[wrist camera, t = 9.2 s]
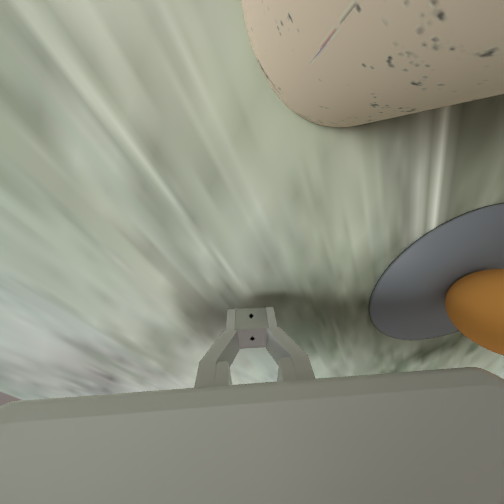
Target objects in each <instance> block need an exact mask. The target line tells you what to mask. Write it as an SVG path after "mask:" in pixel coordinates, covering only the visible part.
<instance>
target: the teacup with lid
mask: <svg viewBox="0 0 504 504" xmlns="http://www.w3.org/2000/svg"><path fill="white" fill-rule="evenodd" d="M242 7H243V12H244V17H245V23H246V27H247V31H248V35H249V38H250V42H251V45H252V48H253V51H254V54H255V56H256V59H257V61H258V63H259V66H260V68H261V70H262V72H263V74H264V76H265V78H266V79H267V81H268V83H269V84H270V86H271V87H272V89H273V90H274V92H275V93H276V94H277V95H278V97H279V98H280V99H281V100H282V101H283V102H284V103H285V104H286V105H287V106H288V107H289V108H290V109H291V110H293V111H294V112H295V113H296V114H298V115H299V116H301V117H303V118H304V119H306V120H308V121H311V122H313V123H316V124H319V125H323V126H329V127H352V126H357V125H362V124H366V123H371V122H376V121H380V120H385V119H390V118H394V117H399V116H404V115H408V114H413V113H417V112H422V111H427V110H431V109H436V108H441V107H445V106H450V105H455V104H459V103H464V102H468V101H473V100H478V99H482V98H487V97H492V96H496V95H501V94H504V0H242Z"/></svg>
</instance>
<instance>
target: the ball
mask: <svg viewBox="0 0 504 504" xmlns="http://www.w3.org/2000/svg"><path fill="white" fill-rule="evenodd" d="M445 307H446V311H447V314H448V316H449V318H450V320H451V321H452V323H453V324H454V325H455V327H456V328H457V329H458V330H459V331H460V332H461V333H463V334H464V335H465V336H466V337H468V338H469V339H470V340H472V341H473V342H475V343H477V344H478V345H480V346H482V347H484V348H486V349H488V350H491V351H493V352H496V353H498V354H501V355H504V269H490V270H483V271H478V272H474V273H471V274H469V275H466V276H464V277H462V278H460V279H459V280H457V281H456V282H455V283H454V284H453V285H452V286H451V287H450V288H449V290H448V292H447V294H446V298H445Z"/></svg>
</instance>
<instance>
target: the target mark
mask: <svg viewBox="0 0 504 504" xmlns="http://www.w3.org/2000/svg"><path fill="white" fill-rule="evenodd" d="M490 269H504V203H500V204H495V205H491V206H486V207H482V208H479V209H476V210H473V211H470V212H467V213H465V214H463V215H460V216H458V217H456V218H453V219H451V220H449V221H448V222H446V223H444V224H442V225H440V226H438V227H436V228H435V229H433V230H432V231H430V232H428V233H427V234H425V235H424V236H422V237H421V238H420V239H418V240H417V241H415V242H414V243H413V244H412V245H410V246H409V247H408V248H407V249H406V250H405V251H403V252H402V253H401V254H400V255H399V256H398V257H397V258H396V259H395V260H394V261H393V262H392V263H391V264H390V266H389V267H388V268H387V269H386V270H385V272H384V273H383V275H382V276H381V278H380V279H379V281H378V282H377V284H376V286H375V288H374V290H373V293H372V296H371V299H370V305H369V313H370V317H371V320H372V321H373V323H374V325H375V326H376V327H377V328H378V329H379V330H380V331H381V332H382V333H384V334H386V335H388V336H390V337H393V338H397V339H404V340H421V339H429V338H435V337H439V336H443V335H447V334H450V333H454V332H457V331H459V330H458V329H457V328H456V327H455V325H454V324H453V323H452V321H451V320H450V318H449V316H448V314H447V311H446V307H445V298H446V294H447V292H448V290H449V288H450V287H451V286H452V285H453V284H454V283H455V282H456V281H457V280H459V279H460V278H462V277H464V276H466V275H469V274H471V273H474V272H478V271H483V270H490Z"/></svg>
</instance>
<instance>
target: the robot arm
mask: <svg viewBox="0 0 504 504" xmlns="http://www.w3.org/2000/svg"><path fill="white" fill-rule="evenodd" d="M255 347H266V349H267V350H268V351H269V353H270V354H271V356H272V357H273V358H274V360H275V361H276V363H277V364H278V366H279V368H278V377H277V382H265V383H252V384H239V385H232V380H231V374H230V366H231V364H232V362H233V360H234V359H235V357H236V355H237V353H238V351H239V349H243V348H255ZM0 504H504V379H502V378H500V377H498V376H496V375H495V374H492V373H490V372H488V371H486V370H484V369H481V368H477V367H465V368H451V369H438V370H425V371H412V372H398V373H385V374H372V375H359V376H345V377H332V378H319V379H315V376H314V373H313V370H312V367H311V364H310V361H309V358H308V355H307V354H306V353H305V352H304V351H303V350H302V349H301V348H300V347H299V346H298V345H297V344H296V343H295V342H294V341H293V340H292V339H291V338H290V337H289V336H288V335H287V334H286V333H285V332H284V331H283V330H282V329H281V328H278V326H277V321H276V316H275V312H274V308H273V307H257V308H239V309H228V311H227V323H226V331H223V332H222V334H221V335H220V336H219V338H218V339H217V340H216V341H215V343H214V344H213V345H212V347H211V348H210V349H209V351H208V352H207V353H206V354H205V356H204V357H203V358H202V360H201V361H200V362H199V367H198V372H197V377H196V382H195V387H194V388H186V389H172V390H159V391H146V392H133V393H119V394H106V395H92V396H79V397H65V398H52V399H38V400H23V401H14V402H9V403H6V404H4V405H2V406H0Z"/></svg>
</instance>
